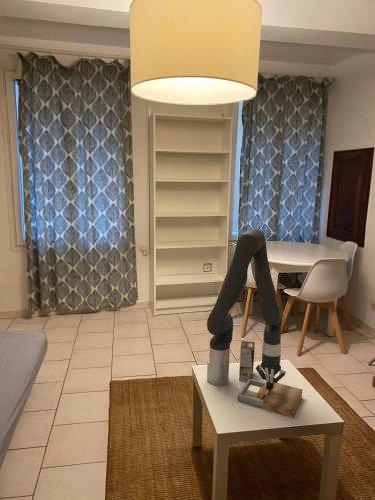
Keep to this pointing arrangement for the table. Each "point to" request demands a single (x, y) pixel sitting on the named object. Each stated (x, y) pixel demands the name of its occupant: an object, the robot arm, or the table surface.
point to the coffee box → (246, 360)
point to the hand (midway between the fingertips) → (269, 389)
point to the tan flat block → (283, 399)
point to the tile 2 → (262, 391)
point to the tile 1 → (253, 390)
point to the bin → (251, 399)
